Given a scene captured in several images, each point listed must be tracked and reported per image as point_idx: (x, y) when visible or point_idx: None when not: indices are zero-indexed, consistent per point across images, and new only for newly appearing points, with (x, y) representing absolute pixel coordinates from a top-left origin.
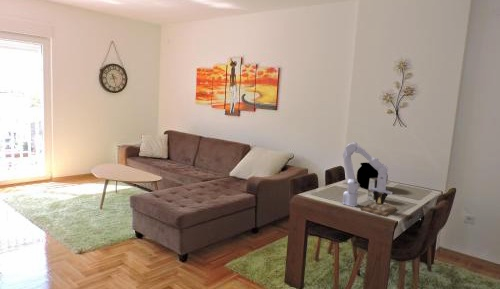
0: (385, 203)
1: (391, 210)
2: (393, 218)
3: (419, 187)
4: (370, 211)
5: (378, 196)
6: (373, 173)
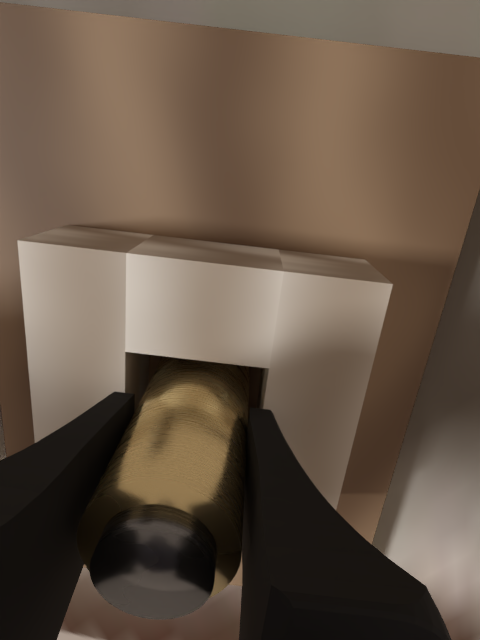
0: (301, 327)
1: (423, 371)
2: (458, 567)
3: None
4: None
5: (110, 589)
6: None
